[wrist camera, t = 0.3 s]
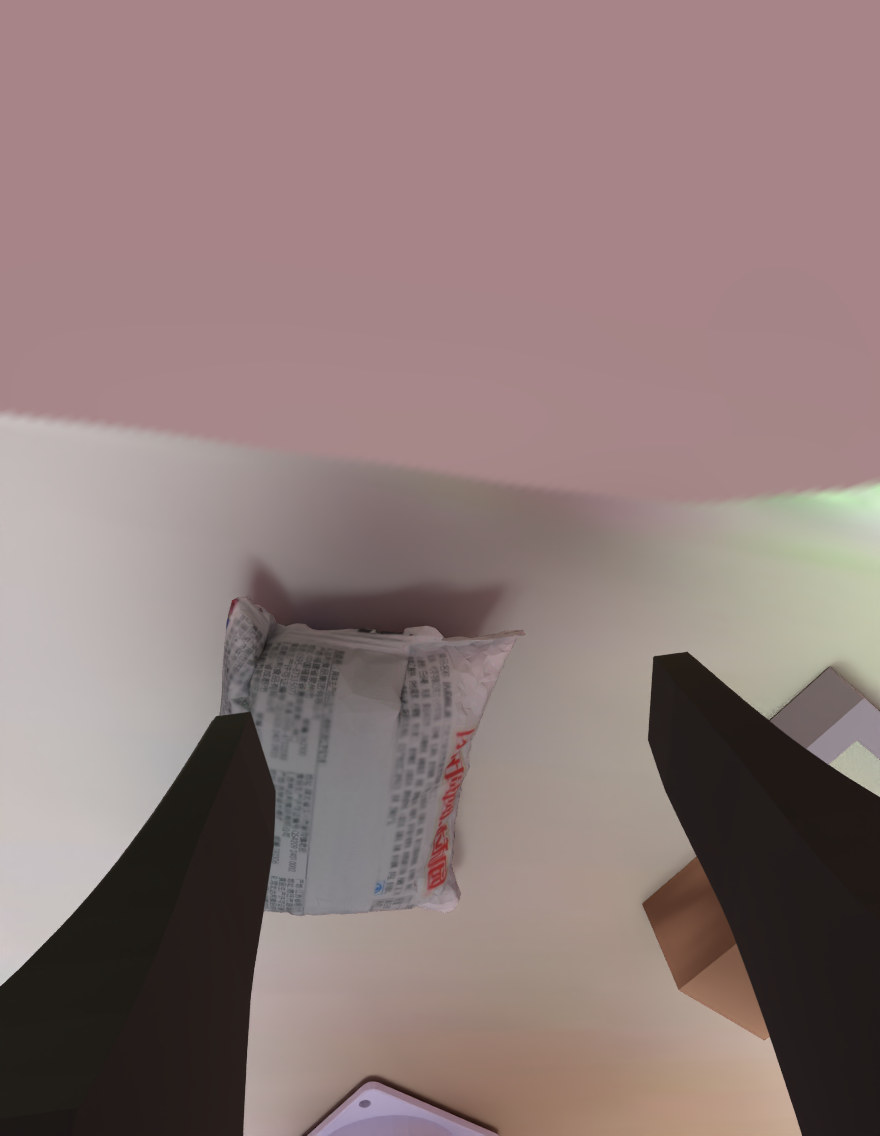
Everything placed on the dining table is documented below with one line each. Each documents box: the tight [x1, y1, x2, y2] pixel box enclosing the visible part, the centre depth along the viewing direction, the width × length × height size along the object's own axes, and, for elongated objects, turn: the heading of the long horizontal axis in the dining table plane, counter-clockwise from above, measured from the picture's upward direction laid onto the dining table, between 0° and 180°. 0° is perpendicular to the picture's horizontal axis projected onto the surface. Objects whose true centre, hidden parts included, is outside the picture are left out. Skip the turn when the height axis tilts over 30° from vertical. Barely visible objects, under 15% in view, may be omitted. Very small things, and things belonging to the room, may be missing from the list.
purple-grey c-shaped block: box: [770, 667, 880, 765], centre depth 28 cm, size 6×10×2 cm, turn 50°
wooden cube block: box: [643, 857, 770, 1040], centre depth 29 cm, size 5×5×4 cm
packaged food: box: [220, 596, 525, 916], centre depth 24 cm, size 9×12×5 cm
